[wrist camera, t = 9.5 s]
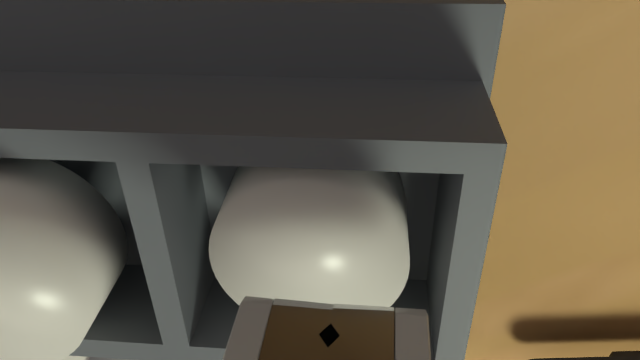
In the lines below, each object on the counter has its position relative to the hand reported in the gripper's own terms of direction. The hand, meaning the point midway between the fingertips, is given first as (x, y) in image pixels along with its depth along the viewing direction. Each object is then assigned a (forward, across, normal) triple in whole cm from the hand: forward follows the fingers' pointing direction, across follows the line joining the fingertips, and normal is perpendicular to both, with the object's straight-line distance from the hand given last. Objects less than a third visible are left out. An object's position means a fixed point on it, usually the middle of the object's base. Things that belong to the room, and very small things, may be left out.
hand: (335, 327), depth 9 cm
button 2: (+4, +1, 0) cm, 4 cm away
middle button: (+2, +7, 0) cm, 7 cm away
